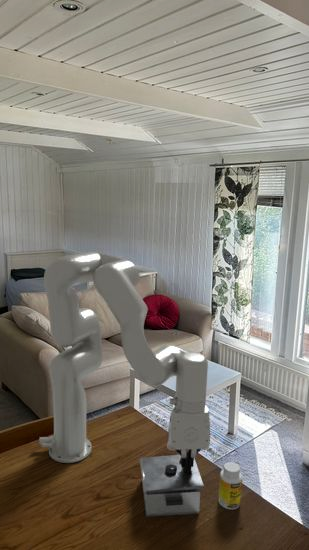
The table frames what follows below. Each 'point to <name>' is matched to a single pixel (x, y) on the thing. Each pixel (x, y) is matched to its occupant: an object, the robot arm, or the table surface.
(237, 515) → the table surface
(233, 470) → the supplement bottle
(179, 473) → the lid
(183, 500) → the cooker pot
